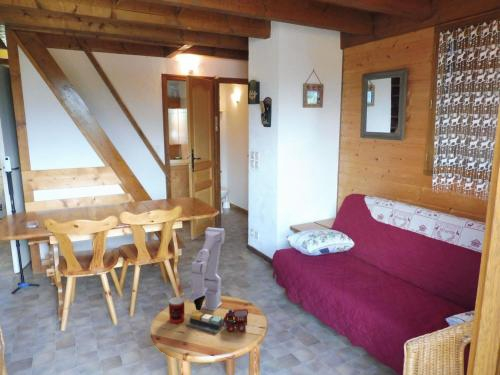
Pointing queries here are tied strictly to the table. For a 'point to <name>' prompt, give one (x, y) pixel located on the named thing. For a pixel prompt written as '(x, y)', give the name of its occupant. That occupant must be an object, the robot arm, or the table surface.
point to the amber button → (197, 315)
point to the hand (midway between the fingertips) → (198, 309)
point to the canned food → (176, 310)
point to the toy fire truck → (236, 320)
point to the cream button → (207, 318)
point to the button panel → (205, 325)
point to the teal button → (216, 320)
